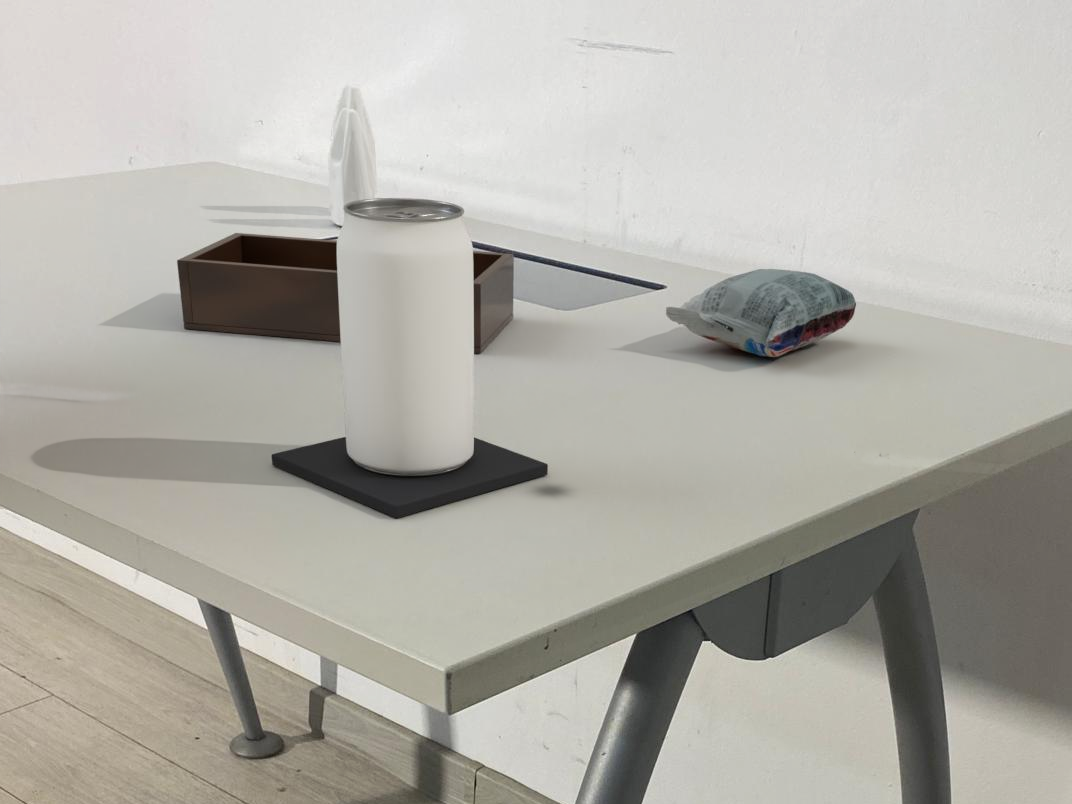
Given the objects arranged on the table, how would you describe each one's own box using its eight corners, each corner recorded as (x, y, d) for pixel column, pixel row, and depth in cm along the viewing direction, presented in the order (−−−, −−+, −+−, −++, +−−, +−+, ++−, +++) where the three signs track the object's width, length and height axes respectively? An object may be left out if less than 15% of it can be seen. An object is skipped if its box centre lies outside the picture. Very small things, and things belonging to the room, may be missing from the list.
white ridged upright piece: (335, 206, 138) (328, 79, 133) (379, 207, 139) (374, 81, 133) (329, 229, 128) (321, 92, 122) (376, 230, 129) (371, 94, 123)
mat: (396, 519, 67) (395, 506, 67) (271, 465, 73) (270, 453, 73) (548, 475, 74) (548, 463, 73) (422, 428, 79) (422, 418, 79)
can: (496, 452, 74) (497, 206, 68) (434, 487, 69) (429, 225, 63) (389, 432, 77) (381, 191, 70) (321, 465, 72) (306, 209, 65)
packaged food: (663, 349, 96) (668, 273, 94) (752, 320, 105) (760, 250, 102) (774, 375, 92) (784, 297, 90) (858, 343, 101) (869, 270, 98)
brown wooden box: (183, 328, 96) (176, 260, 94) (240, 296, 105) (235, 232, 102) (480, 353, 94) (480, 284, 91) (513, 318, 102) (514, 253, 100)
